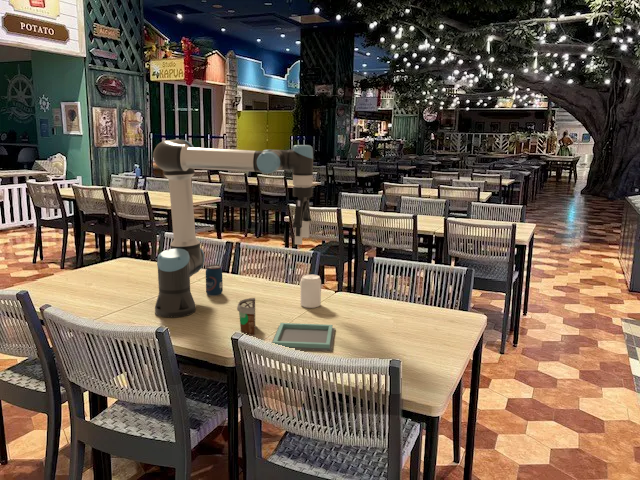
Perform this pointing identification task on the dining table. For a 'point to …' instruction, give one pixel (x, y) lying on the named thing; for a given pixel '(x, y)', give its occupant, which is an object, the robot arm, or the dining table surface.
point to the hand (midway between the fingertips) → (302, 240)
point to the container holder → (305, 336)
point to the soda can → (214, 280)
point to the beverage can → (310, 291)
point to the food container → (247, 315)
